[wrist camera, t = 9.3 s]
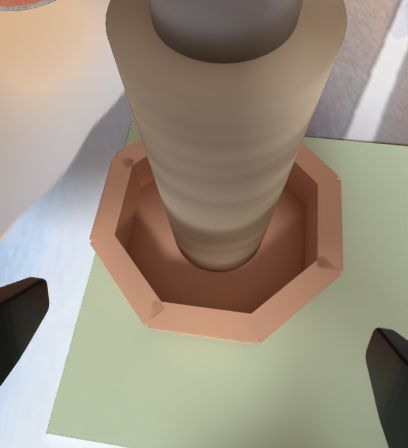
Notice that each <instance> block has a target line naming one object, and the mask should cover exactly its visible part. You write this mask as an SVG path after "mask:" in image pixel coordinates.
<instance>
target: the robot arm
mask: <svg viewBox="0 0 408 448" xmlns="http://www.w3.org/2000/svg"><path fill="white" fill-rule="evenodd" d="M48 309H49V296H48V288H47V282H46V280H44V279H42V278H35V277H29V278H26V279H23V280H20V281H17V282H15V283H12V284H9V285H6V286H3V287H0V386H1V385H2V383H3V382H4V380H5V379H6V378H7V376H8V375H9V374H10V372H11V371H12V369H13V368H14V367H15V365H16V364H17V362H18V361H19V359H20V358H21V356H22V354H23V353H24V351H25V350H26V348H27V346H28V344H29V343H30V341H31V339H32V337H33V336H34V334H35V332H36V331H37V329H38V327H39V325H40V324H41V322H42V320H43V318H44V317H45V315H46V313H47V311H48ZM365 358H366V364H367V369H368V373H369V377H370V382H371V386H372V391H373V395H374V399H375V404H376V408H377V412H378V416H379V420H380V423H381V426H382V429H383V432H384V435H385V438H386V441H387V444H388V447H389V448H408V340H407V339H405V338H404V337H403V336H401V335H400V334H399V333H397V332H396V331H394V330H392V329H387V328H380V327H377V328H375V329H374V331H373V333H372V336H371V338H370V341H369V344H368V347H367V350H366V354H365Z"/></svg>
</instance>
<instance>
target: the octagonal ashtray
mask: <svg viewBox="0 0 408 448" xmlns="http://www.w3.org/2000/svg"><path fill="white" fill-rule="evenodd" d="M116 156H117V157H113V159H112V162H111V166H110V169H109V173H108V176H107V180H106V183H105V186H104V190H103V193H102V197H101V200H100V204H99V207H98V211H97V214H96V218H95V221H94V225H93V228H92V232H91V235H90V240H91V241H92V242H91V243H90V244H91V246H92V247H93V249H94V250H95V252H96V253H97V255H98V256H99V258H100V259H101V261H102V262H103V264H104V265H105V267H106V268H107V270H108V272H109V273H110V275H111V276H112V278H113V279H114V281H115V282H116V284H117V285H118V287H119V288H120V290H121V291H122V293H123V294H124V296H125V297H126V299H127V300H128V302H129V304H130V305H131V307H132V308H133V310H134V311H135V313H136V314H137V316H138V317H139V319H140V320H141V322H142V323H143V325H145V326H147V327H148V328H150V329H152V330H154V331H156V332H162V333H169V334H176V335H183V336H190V337H197V338H201V339H210V340H218V341H225V342H232V343H239V344H246V345H254V344H258V343H261V342H263V341H264V340H265V339H266V338H268V337H269V336H270V335H271V334H272V333H273V332H275V331H276V330H277V329H278V328H279V327H281V326H282V325H283V324H284V323H285V322H286V321H288V320H289V319H290V318H291V317H292V316H294V315H295V314H296V313H297V312H298V311H299V310H301V309H302V308H303V307H304V306H305V305H306V304H308V303H309V302H310V301H311V300H312V299H314V298H315V297H316V296H317V295H318V294H319V293H321V292H322V291H323V290H324V289H325V288H327V287H328V286H329V285H330V284H331V283H332V282H334V281H335V280H336V279H337V278H338V277H339V276H341V275H342V274H341V272H342V271H344V268H343V231H342V193H341V180H338V178H339V176H338V175H337V174H336V173H335V172H334V171H333V170H332V169H331V168H330V167H328V166H327V165H326V164H325V163H324V162H323V161H322V160H321V159H320V158H319V157H318V156H317V155H316V154H314V153H313V152H312V151H311V150H310V149H309V148H308V147H307V146H306V145H305V144H304V143H303V142H302V144H301V146H300V149H299V151H298V154H297V156H296V158H295V161H294V163H293V166H292V168H291V171H290V173H289V176H288V178H287V181H286V183H285V186H284V188H283V191H282V193H281V196H280V198H279V201H278V203H277V206H276V208H275V211H274V213H273V216H272V218H271V221H270V223H269V226H268V228H267V231H266V233H265V236H264V238H263V241H262V243H261V245H260V248H259V250H258V251H257V253H256V254H255V256H254V257H253V258H252V259H251V260H250V261H249V262H248V263H246V264H245V265H243V266H241V267H239V268H237V269H235V270H232V271H227V272H211V271H206V270H203V269H200V268H198V267H196V266H194V265H193V264H191V263H190V262H189V261H188V260H187V259H186V258H185V257H184V256H183V255H182V254H181V252H180V251H179V249H178V247H177V244H176V241H175V238H174V235H173V232H172V229H171V226H170V223H169V220H168V217H167V214H166V211H165V208H164V205H163V202H162V199H161V196H160V193H159V190H158V187H157V184H156V181H155V178H154V175H153V172H152V169H151V166H150V163H149V160H148V157H147V154H146V151H145V148H144V145H143V142H142V139H139V140H137V141H136V142H134V143H132V144H131V145H129V146H128V147H126V148H124V149H123V150H121V151H119V152H118V153H116Z"/></svg>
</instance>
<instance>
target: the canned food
mask: <svg viewBox="0 0 408 448" xmlns="http://www.w3.org/2000/svg"><path fill="white" fill-rule="evenodd" d="M53 1H55V0H0V10H4V11H19V10H27V9H32V8H36V7H40V6H43V5H46V4H49V3H50V2H53Z"/></svg>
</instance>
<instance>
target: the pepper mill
mask: <svg viewBox="0 0 408 448" xmlns="http://www.w3.org/2000/svg"><path fill="white" fill-rule="evenodd" d="M346 24H347V15H346V8H345V4H344V1H343V0H111V1H110V3H109V6H108V9H107V13H106V32H107V36H108V40H109V43H110V46H111V49H112V52H113V55H114V58H115V61H116V64H117V67H118V70H119V73H120V76H121V79H122V82H123V85H124V88H125V91H126V94H127V97H128V100H129V103H130V106H131V109H132V112H133V115H134V118H135V121H136V124H137V127H138V130H139V133H140V136H141V139H142V142H143V145H144V148H145V151H146V154H147V157H148V160H149V163H150V166H151V169H152V172H153V175H154V178H155V181H156V184H157V187H158V190H159V193H160V196H161V199H162V202H163V205H164V208H165V211H166V214H167V217H168V220H169V223H170V226H171V229H172V232H173V235H174V238H175V241H176V244H177V247H178V249H179V251H180V252H181V254H182V255H183V256H184V257H185V258H186V259H187V260H188V261H189V262H190V263H191V264H193V265H194V266H196V267H198V268H200V269H203V270H206V271H211V272H227V271H232V270H235V269H237V268H239V267H241V266H243V265H245V264H246V263H248V262H249V261H250V260H251V259H252V258H253V257H254V256H255V254H256V253H257V251H258V250H259V248H260V245H261V243H262V241H263V238H264V236H265V233H266V231H267V228H268V226H269V223H270V221H271V218H272V216H273V213H274V211H275V208H276V206H277V203H278V201H279V198H280V196H281V193H282V191H283V188H284V186H285V183H286V181H287V178H288V176H289V173H290V171H291V168H292V166H293V163H294V161H295V158H296V156H297V154H298V151H299V149H300V146H301V144H302V141H303V139H304V136H305V134H306V131H307V129H308V126H309V124H310V121H311V119H312V116H313V114H314V111H315V109H316V106H317V104H318V101H319V99H320V96H321V94H322V91H323V89H324V86H325V84H326V81H327V79H328V76H329V74H330V72H331V69H332V67H333V64H334V62H335V59H336V57H337V54H338V52H339V49H340V47H341V44H342V42H343V39H344V35H345V31H346Z"/></svg>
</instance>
